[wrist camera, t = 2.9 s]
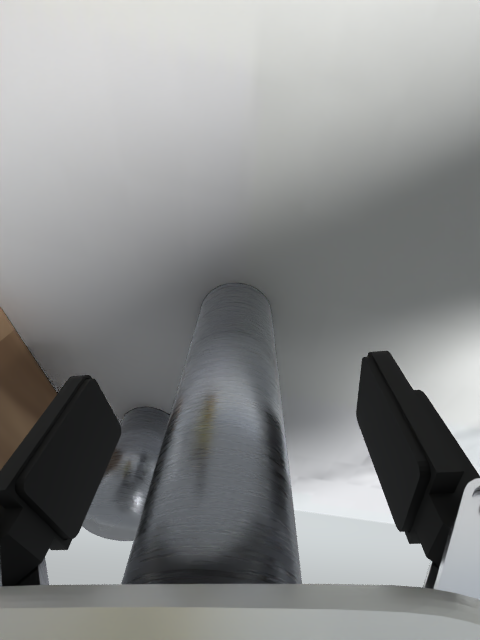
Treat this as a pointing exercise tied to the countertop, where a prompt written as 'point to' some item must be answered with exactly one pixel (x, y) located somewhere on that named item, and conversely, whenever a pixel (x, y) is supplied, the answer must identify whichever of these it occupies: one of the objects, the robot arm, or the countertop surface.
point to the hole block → (19, 390)
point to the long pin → (222, 460)
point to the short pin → (128, 476)
